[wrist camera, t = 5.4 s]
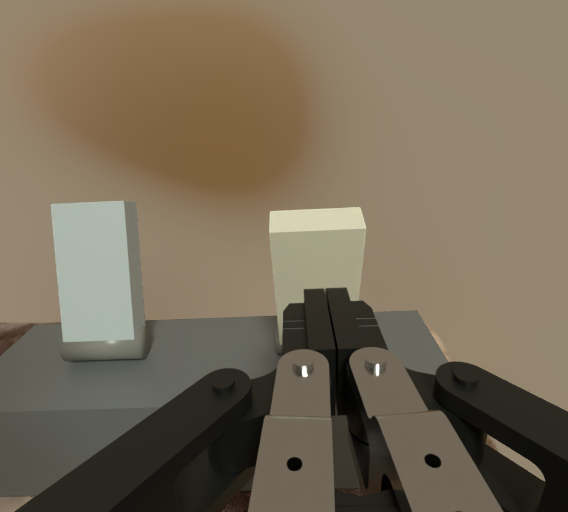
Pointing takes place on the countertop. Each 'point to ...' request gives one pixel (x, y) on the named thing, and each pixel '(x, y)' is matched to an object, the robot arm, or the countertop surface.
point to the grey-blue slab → (99, 281)
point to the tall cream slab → (315, 254)
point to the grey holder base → (148, 389)
